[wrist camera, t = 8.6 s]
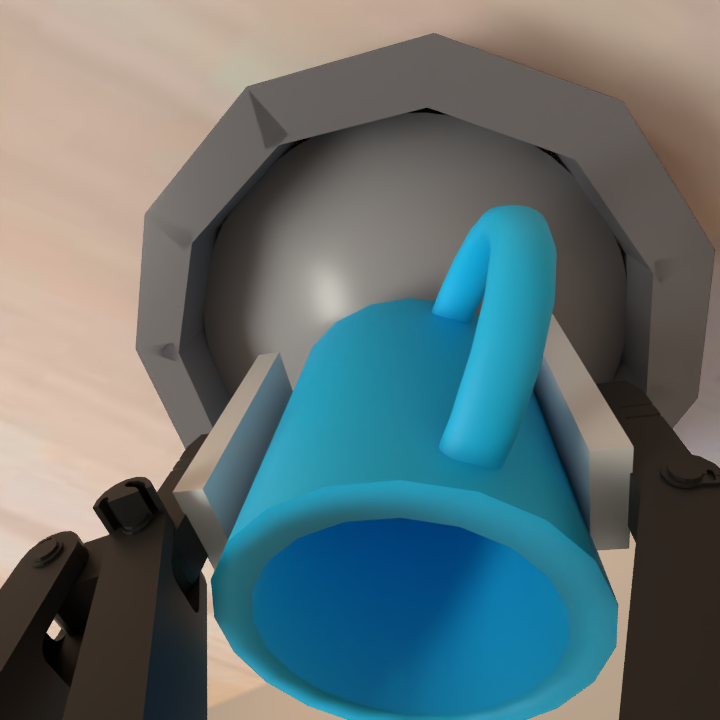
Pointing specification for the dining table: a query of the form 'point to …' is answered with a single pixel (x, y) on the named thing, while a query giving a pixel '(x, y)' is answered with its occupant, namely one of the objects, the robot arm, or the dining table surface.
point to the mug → (424, 510)
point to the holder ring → (413, 221)
